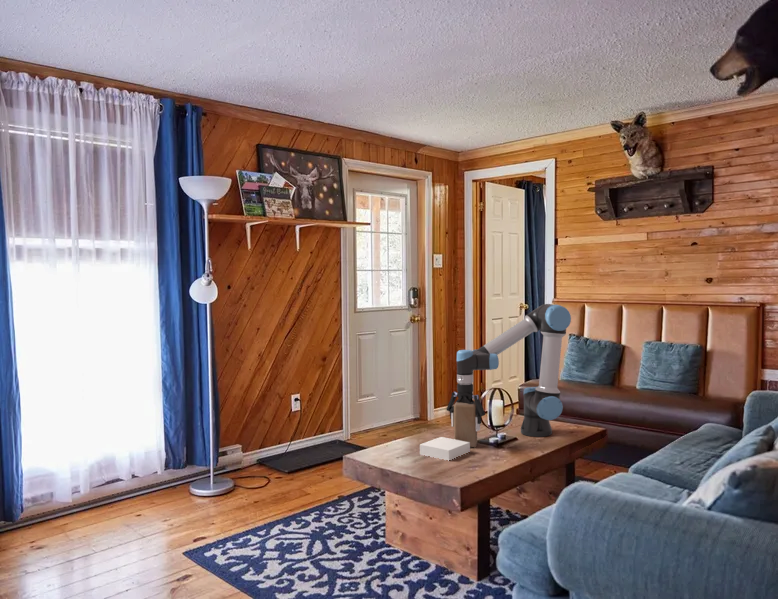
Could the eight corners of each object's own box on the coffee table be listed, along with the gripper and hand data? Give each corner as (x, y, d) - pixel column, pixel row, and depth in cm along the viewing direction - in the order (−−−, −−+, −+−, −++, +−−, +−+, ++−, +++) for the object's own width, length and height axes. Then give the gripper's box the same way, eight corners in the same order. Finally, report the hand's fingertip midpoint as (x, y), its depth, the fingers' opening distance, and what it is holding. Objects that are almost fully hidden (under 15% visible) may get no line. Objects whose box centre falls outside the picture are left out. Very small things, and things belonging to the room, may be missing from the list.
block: (476, 448, 281) (475, 405, 280) (454, 447, 283) (453, 404, 282) (477, 442, 290) (476, 400, 290) (456, 441, 292) (455, 400, 292)
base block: (470, 453, 274) (469, 442, 274) (449, 462, 262) (448, 450, 262) (441, 447, 285) (441, 436, 285) (419, 455, 273) (419, 444, 273)
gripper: (438, 381, 291) (439, 425, 291) (483, 387, 274) (484, 434, 275) (448, 379, 296) (448, 422, 297) (492, 384, 280) (492, 430, 281)
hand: (465, 428), depth 286 cm, fingers closed on block, 13 cm apart
